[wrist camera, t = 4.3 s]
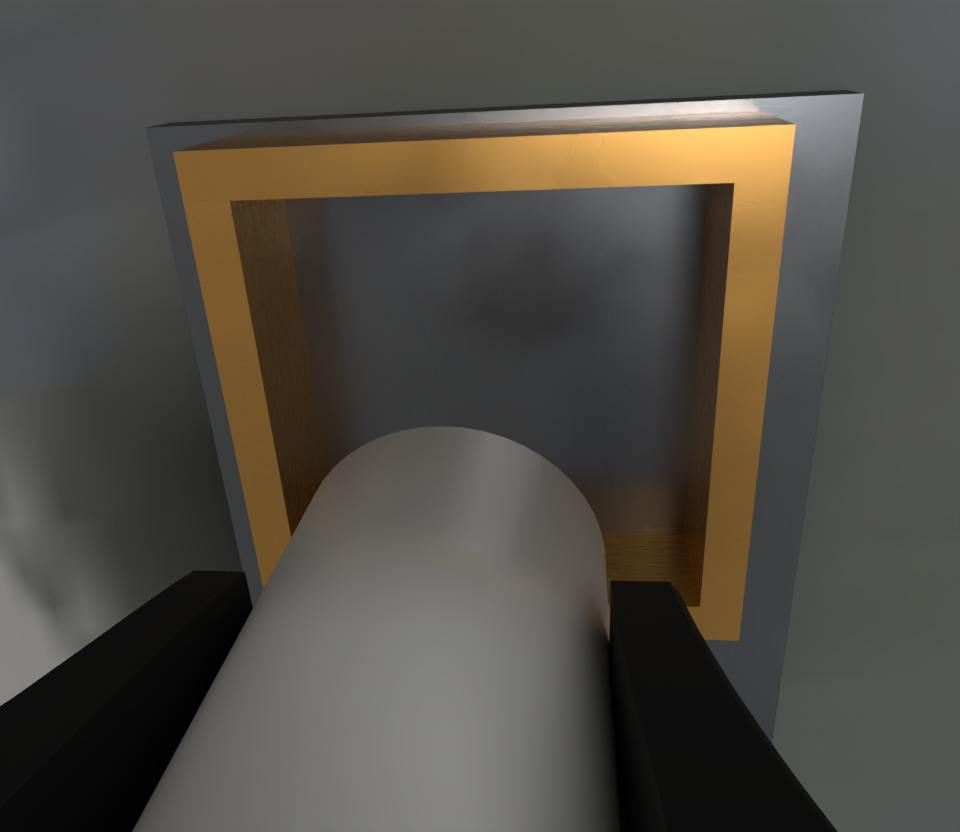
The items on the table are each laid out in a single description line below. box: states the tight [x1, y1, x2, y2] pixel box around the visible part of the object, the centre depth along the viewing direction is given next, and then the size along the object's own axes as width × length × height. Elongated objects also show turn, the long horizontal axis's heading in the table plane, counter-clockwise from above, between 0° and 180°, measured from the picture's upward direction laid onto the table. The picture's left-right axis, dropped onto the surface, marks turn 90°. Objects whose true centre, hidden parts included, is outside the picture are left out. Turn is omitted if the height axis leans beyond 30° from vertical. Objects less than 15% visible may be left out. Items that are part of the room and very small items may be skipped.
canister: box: [132, 426, 620, 832], centre depth 7 cm, size 4×4×7 cm
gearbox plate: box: [146, 90, 864, 743], centre depth 18 cm, size 20×13×4 cm, turn 3°
